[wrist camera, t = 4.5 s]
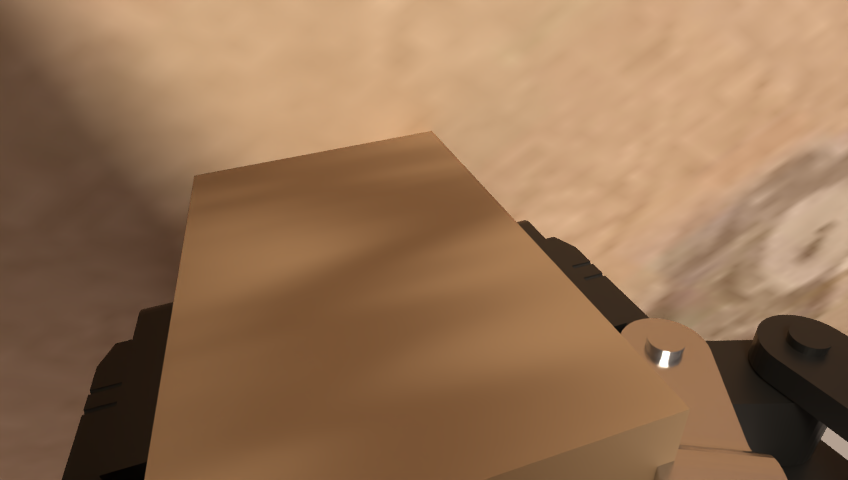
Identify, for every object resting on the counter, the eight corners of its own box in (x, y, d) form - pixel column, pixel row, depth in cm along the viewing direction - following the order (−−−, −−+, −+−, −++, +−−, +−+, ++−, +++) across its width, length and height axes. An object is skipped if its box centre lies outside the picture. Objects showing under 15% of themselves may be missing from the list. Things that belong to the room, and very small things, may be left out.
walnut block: (431, 130, 11) (691, 409, 5) (444, 305, 14) (621, 633, 8) (194, 175, 10) (123, 602, 4) (257, 354, 13) (277, 783, 7)
